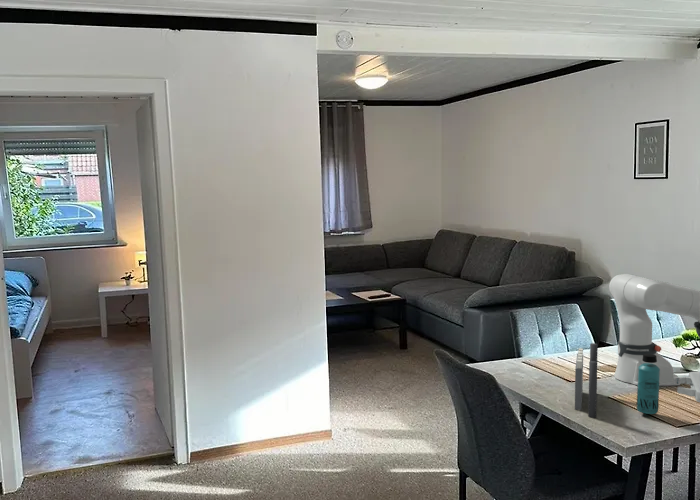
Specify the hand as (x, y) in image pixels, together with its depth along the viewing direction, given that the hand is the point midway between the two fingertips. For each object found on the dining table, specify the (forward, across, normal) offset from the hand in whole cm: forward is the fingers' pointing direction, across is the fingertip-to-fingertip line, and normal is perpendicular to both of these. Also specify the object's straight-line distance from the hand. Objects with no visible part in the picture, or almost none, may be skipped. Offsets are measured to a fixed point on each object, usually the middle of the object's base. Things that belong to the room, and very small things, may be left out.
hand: (675, 384), depth 197 cm
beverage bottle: (+8, 0, -11) cm, 13 cm away
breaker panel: (+29, +7, -11) cm, 31 cm away
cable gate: (+24, +4, -11) cm, 27 cm away
